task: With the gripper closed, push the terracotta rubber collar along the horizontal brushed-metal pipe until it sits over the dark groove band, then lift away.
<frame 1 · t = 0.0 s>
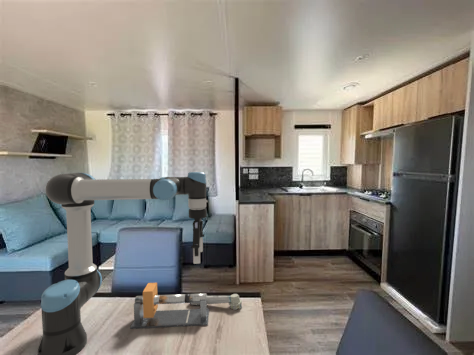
hand: (198, 257, 109), 28 cm above the table, fingers open, 13 cm apart
pipe rig: (171, 319, 112), on the table
collar: (150, 312, 111), point 3 cm above the table, touching pipe rig
white blue-tipped device: (215, 306, 122), on the table
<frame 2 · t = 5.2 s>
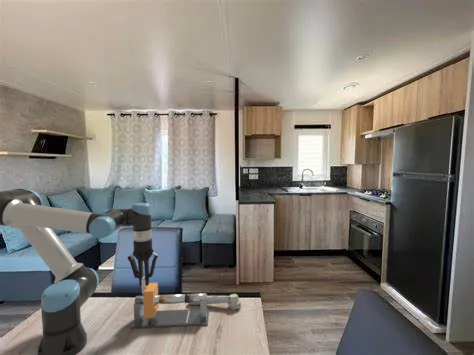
hand: (144, 292, 110), 12 cm above the table, fingers closed
collar: (151, 312, 111), point 3 cm above the table, touching gripper, pipe rig
everything else where it was.
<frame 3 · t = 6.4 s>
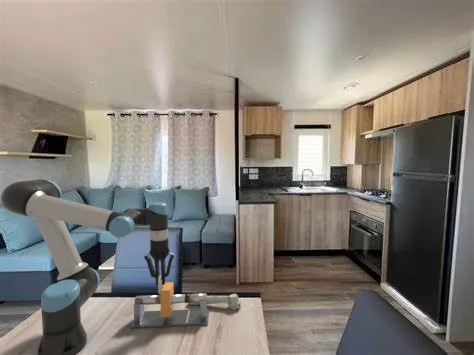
hand: (160, 291, 111), 12 cm above the table, fingers closed
collar: (167, 311, 111), point 3 cm above the table, touching gripper, pipe rig
everything else where it was.
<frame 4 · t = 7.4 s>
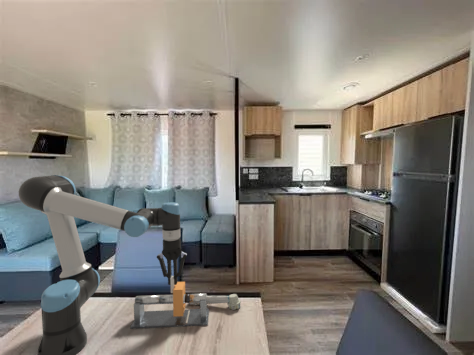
hand: (173, 291, 111), 12 cm above the table, fingers closed
collar: (179, 311, 112), point 3 cm above the table
everything else where it was.
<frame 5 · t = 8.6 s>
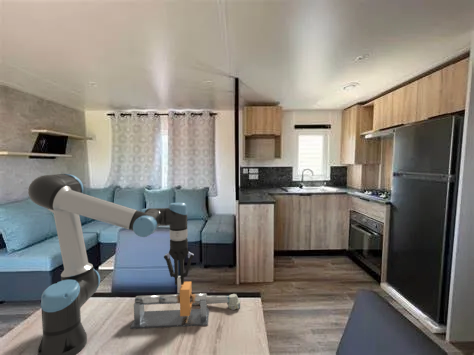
hand: (179, 291, 111), 12 cm above the table, fingers closed
collar: (186, 310, 112), point 3 cm above the table, touching gripper, pipe rig
everything else where it was.
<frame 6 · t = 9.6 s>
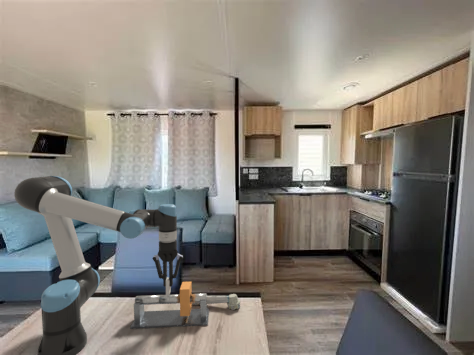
hand: (168, 293, 111), 12 cm above the table, fingers closed
collar: (186, 311, 112), point 3 cm above the table, touching pipe rig
everything else where it was.
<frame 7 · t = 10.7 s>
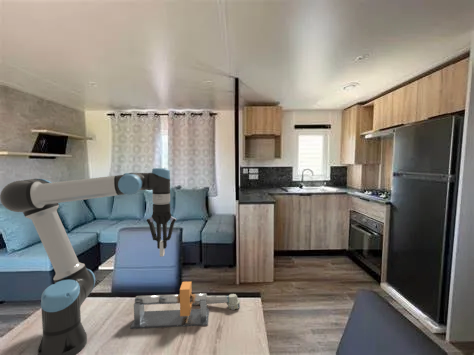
hand: (162, 255, 114), 27 cm above the table, fingers closed
nothing on the table moved.
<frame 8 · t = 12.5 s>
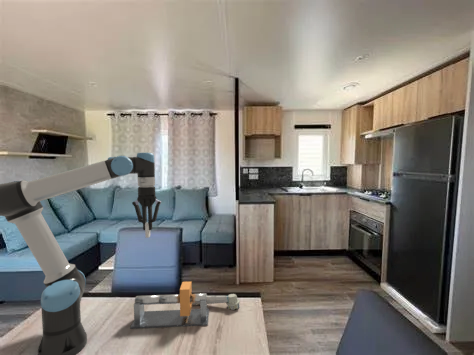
hand: (147, 236, 118), 34 cm above the table, fingers closed
at the end: collar 0.8 cm from the target spot, point 3.4 cm above the table; collar tilted 3°; the gripper is holding nothing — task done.
